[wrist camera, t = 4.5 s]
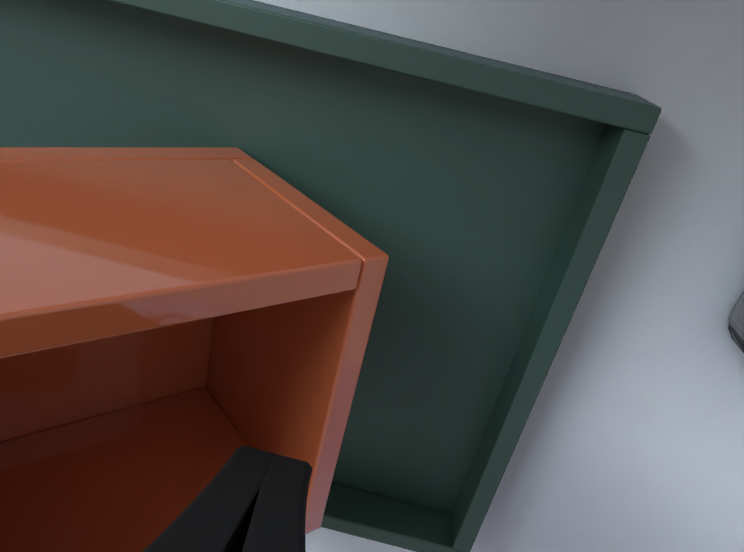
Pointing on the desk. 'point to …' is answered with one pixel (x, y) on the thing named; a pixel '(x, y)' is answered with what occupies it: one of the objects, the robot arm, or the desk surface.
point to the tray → (370, 207)
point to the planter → (165, 336)
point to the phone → (737, 323)
